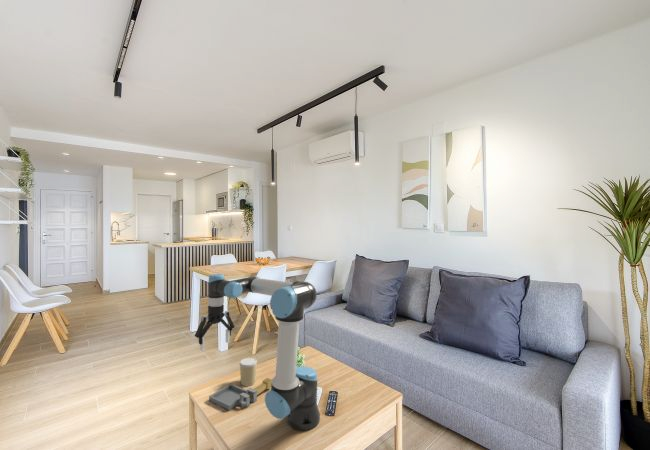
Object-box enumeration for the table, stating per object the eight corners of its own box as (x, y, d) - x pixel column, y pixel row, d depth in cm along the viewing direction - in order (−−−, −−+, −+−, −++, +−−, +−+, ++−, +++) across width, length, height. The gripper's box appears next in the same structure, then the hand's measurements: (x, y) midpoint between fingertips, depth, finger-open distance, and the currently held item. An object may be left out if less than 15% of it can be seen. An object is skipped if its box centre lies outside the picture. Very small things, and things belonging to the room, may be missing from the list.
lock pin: (266, 384, 167) (267, 377, 167) (272, 386, 165) (272, 379, 165) (247, 397, 154) (247, 390, 154) (253, 400, 152) (253, 393, 152)
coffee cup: (258, 378, 174) (259, 358, 174) (253, 388, 165) (253, 366, 165) (243, 377, 175) (243, 356, 175) (236, 386, 166) (237, 364, 166)
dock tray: (258, 399, 155) (258, 389, 155) (237, 415, 143) (237, 404, 142) (230, 388, 164) (230, 378, 164) (209, 401, 152) (209, 391, 152)
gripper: (234, 298, 167) (233, 337, 167) (187, 308, 148) (187, 351, 149) (241, 301, 161) (240, 341, 162) (194, 311, 143) (194, 356, 144)
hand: (215, 346), depth 155 cm, fingers open, 13 cm apart
